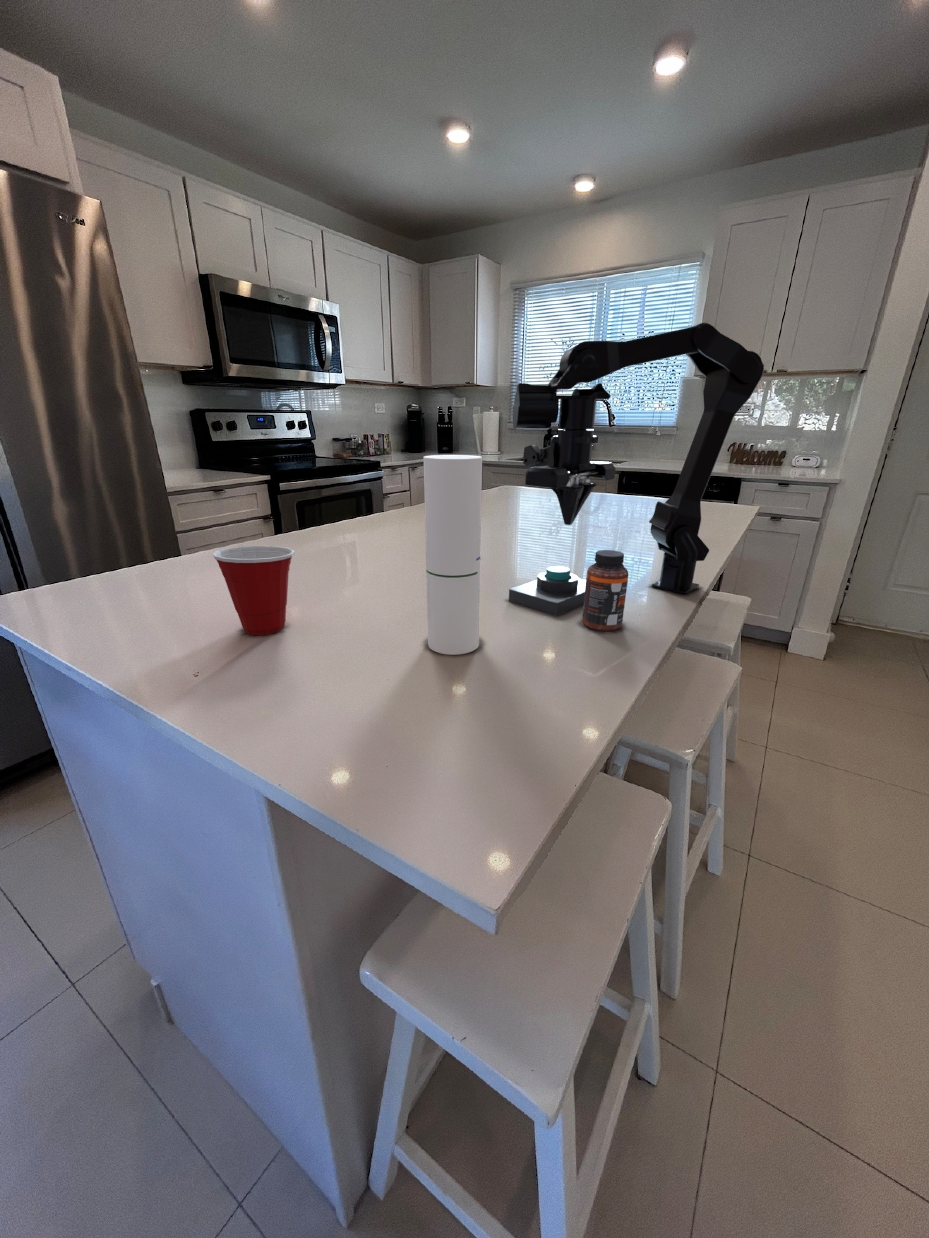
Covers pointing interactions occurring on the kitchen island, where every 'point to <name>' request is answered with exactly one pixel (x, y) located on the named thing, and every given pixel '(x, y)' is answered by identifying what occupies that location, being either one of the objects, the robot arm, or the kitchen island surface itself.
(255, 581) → the plastic cup
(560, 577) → the lid button
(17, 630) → the kitchen island surface
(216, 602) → the kitchen island surface
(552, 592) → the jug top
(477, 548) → the cylindrical container
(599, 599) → the supplement bottle
